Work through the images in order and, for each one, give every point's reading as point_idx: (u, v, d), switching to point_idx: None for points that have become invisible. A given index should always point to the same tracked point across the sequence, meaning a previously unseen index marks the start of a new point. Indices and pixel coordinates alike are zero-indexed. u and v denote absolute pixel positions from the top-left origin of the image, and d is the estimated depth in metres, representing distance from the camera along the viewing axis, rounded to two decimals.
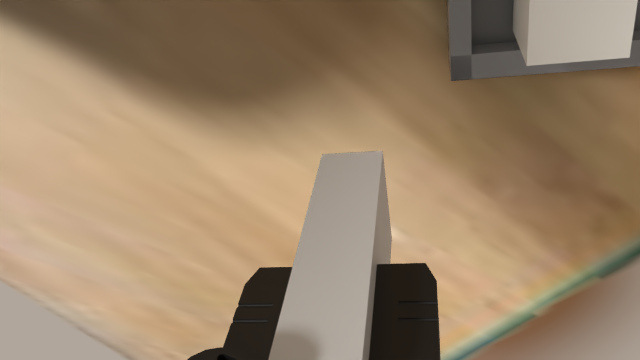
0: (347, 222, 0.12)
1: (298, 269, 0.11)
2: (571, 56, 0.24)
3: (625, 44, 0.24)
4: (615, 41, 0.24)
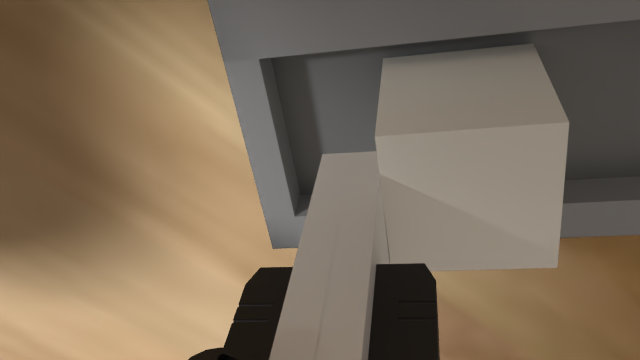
0: (346, 222, 0.12)
1: (299, 269, 0.11)
2: (461, 262, 0.14)
3: (548, 249, 0.14)
4: (531, 245, 0.14)
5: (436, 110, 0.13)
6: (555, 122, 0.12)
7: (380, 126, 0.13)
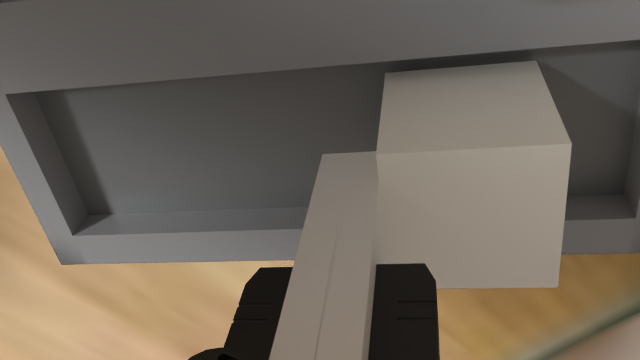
0: (346, 222, 0.12)
1: (299, 269, 0.11)
2: (461, 280, 0.14)
3: (548, 269, 0.14)
4: (532, 264, 0.14)
5: (438, 127, 0.13)
6: (558, 143, 0.12)
7: (381, 144, 0.13)
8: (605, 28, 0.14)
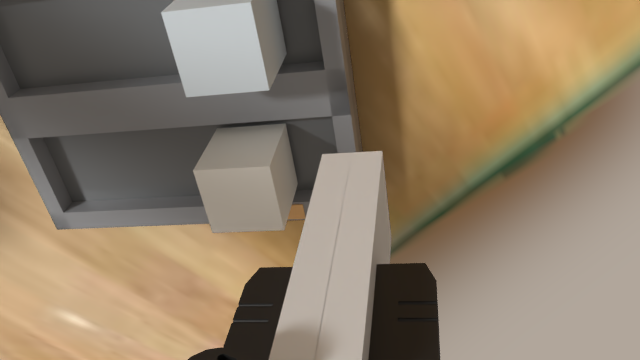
0: (347, 222, 0.12)
1: (298, 269, 0.11)
2: (242, 227, 0.31)
3: (277, 221, 0.31)
4: (270, 219, 0.31)
5: (223, 158, 0.30)
6: (264, 166, 0.29)
7: (197, 165, 0.30)
8: (304, 111, 0.31)
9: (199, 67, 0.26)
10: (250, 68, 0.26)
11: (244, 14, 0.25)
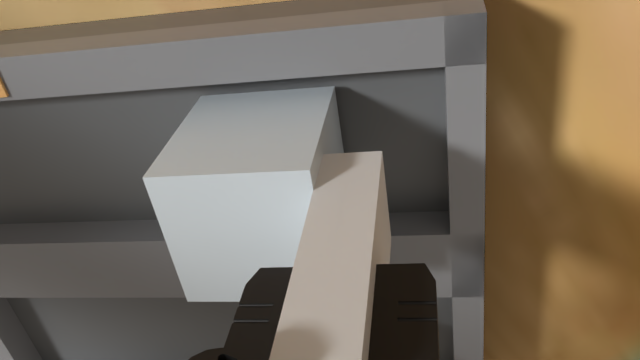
0: (347, 222, 0.12)
1: (299, 269, 0.11)
2: None
3: None
4: None
5: None
6: None
7: None
8: None
9: (211, 262, 0.15)
10: None
11: (296, 189, 0.13)
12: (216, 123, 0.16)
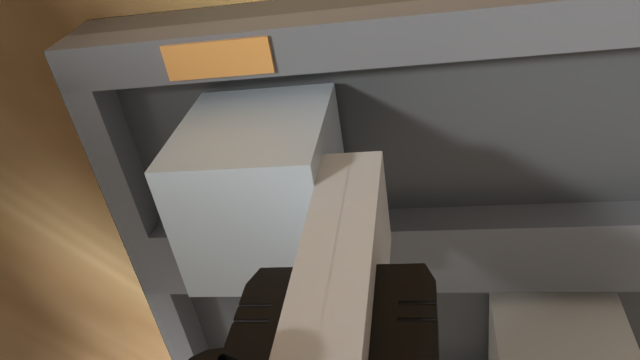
0: (347, 222, 0.12)
1: (299, 269, 0.11)
2: None
3: None
4: None
5: None
6: None
7: None
8: None
9: (212, 257, 0.15)
10: None
11: (296, 184, 0.13)
12: (217, 120, 0.16)
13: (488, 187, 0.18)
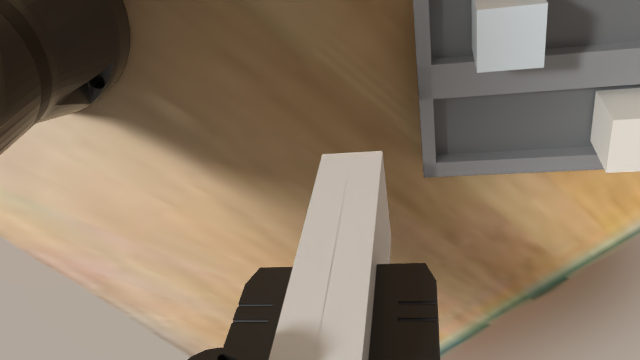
0: (347, 222, 0.12)
1: (298, 269, 0.11)
2: (634, 168, 0.39)
3: None
4: None
5: (631, 111, 0.38)
6: None
7: (612, 116, 0.38)
8: None
9: (494, 50, 0.36)
10: (533, 51, 0.36)
11: (540, 12, 0.34)
12: None
13: (600, 34, 0.39)
